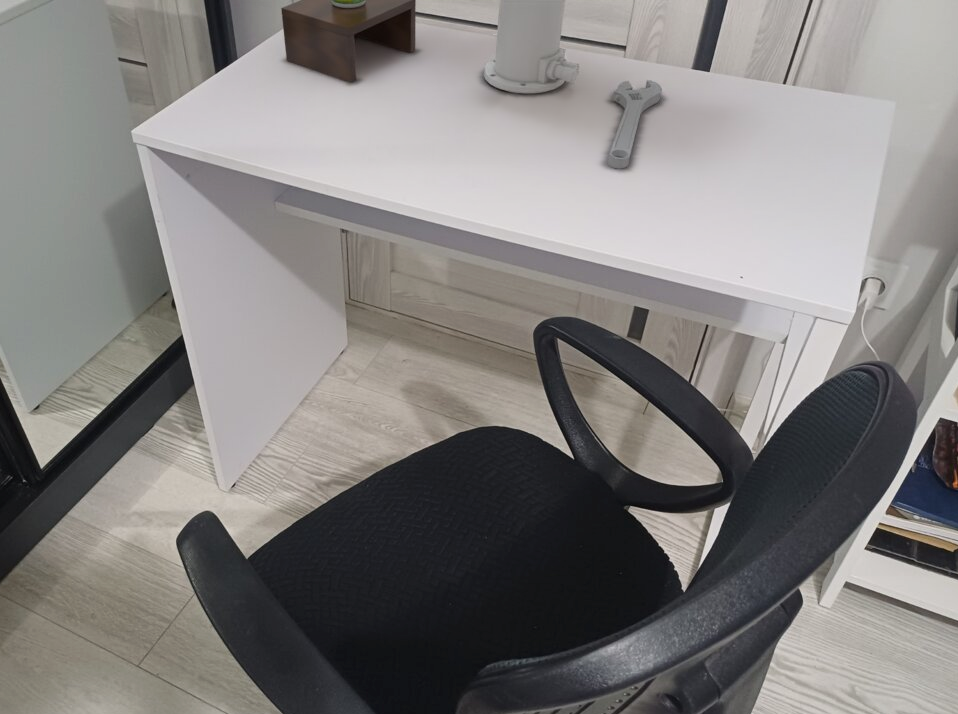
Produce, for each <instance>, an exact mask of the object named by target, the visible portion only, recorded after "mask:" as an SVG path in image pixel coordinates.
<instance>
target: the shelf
mask: <svg viewBox="0 0 958 714" xmlns="http://www.w3.org/2000/svg"><path fill="white" fill-rule="evenodd" d="M416 2H417V1H416V0H366V2H365V4H364V5H362V6H360V7H356V8H340V7H336V6H335V5H333V3H332V0H298V1H296V2H293V3H290V4H287V5H286V6H282V7H281V8H280V10H281V18H282V19H281V20H282V28H283V29H282V30H283V38H284V40H283V41H284V47H285V58H286V61H287V62H290V63H292V64H295V65H299V66H301V67H305V68H307V69H310V70H312V71H316V72H318V73H322V74H325V75H327V76H331V77H333V78H337V79H339V80H342V81H345V82H348V83H351V84H352V83H354V82H356V81H357V67H356V49H355V48H356V47H355V45H356V44H355V43H356V42H355V37H359V38H361V39H365V40H368V41H370V42H374V43H378V44H381V45H384V46H388V47H391V48H394V49H397V50H401V51H403V52H407V53H410V54H411V53H414V52H415V51H416V8H417V7H416Z"/></svg>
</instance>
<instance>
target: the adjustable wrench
mask: <svg viewBox="0 0 958 714" xmlns="http://www.w3.org/2000/svg"><path fill="white" fill-rule="evenodd" d="M662 87H663V86H662V85H661V84H659V83H658V82H656V81H655V80H651V79H646V83H645V88H644V89H643V88H642V89H641V88H640V89H633V86H632V83H631V82H630V81H629V80H625V81H622V82H620V83H619V84H618V86H617V88H616V89H617V90H616V89H615V90H613V95H612V101H613V102H616V103H617V104H619V105H620V106H621V107H623V109H624V112H623V114H622V117H621V120H620V122H619V125H618V128H617V131H616V133H615V136H614V140H613V142H612V145H611V148H610V150H609V155H608V160H607V164H608V166H610V167H611V168H613V169H625V168H627V167H628V166H629V162H630V158H631V155H632V150H633V147H634V142H635V138H636V134H637V129H638V126H639V122H640V117H641V115H642V113H643V112H644V111H646V110H647V109H648V108H650V107H651V106H653V105H655V104H657V103H659V102H660V100H661V95H662V91H663V88H662Z"/></svg>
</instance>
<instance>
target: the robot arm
mask: <svg viewBox="0 0 958 714" xmlns="http://www.w3.org/2000/svg"><path fill="white" fill-rule="evenodd" d="M565 6H566V0H499V3H498V16H497V31H496V43H495V57H494V58H493V59H491V60H490V61H488V62H487V63H486V64H485V65H484V69H483V77H484V79H485V81H486V82H487V83H488V84H490V85H491V86H493V87H494V88H496V89H499V90H502V91H504V92H510V93H516V94H541V93H546V92H550V91H553V90H555V89H557V88H559V87H561V86H562V85H563V84H564V83H566V82H567V83H571V84H574V83H575V82H577V79H578V76H579V69H580V65H579V63H575V62H572V61H567V59H566V48H563V47H560V46H561V37H562V29H563V21H564V14H565Z"/></svg>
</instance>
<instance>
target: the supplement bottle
mask: <svg viewBox="0 0 958 714" xmlns="http://www.w3.org/2000/svg"><path fill="white" fill-rule="evenodd" d="M365 2H366V0H332V3H333V5H335V6H336V7H340V8H356V7H360V6H362V5H364V4H365Z"/></svg>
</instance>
